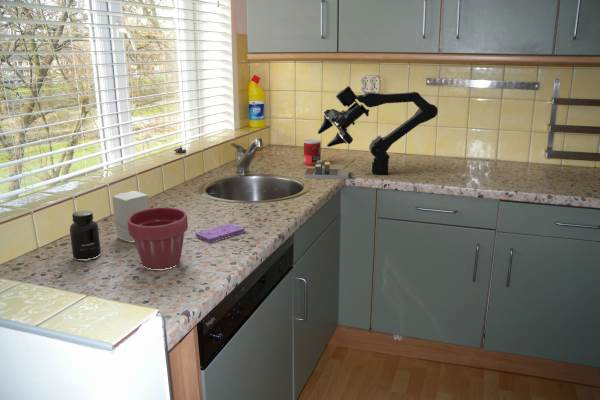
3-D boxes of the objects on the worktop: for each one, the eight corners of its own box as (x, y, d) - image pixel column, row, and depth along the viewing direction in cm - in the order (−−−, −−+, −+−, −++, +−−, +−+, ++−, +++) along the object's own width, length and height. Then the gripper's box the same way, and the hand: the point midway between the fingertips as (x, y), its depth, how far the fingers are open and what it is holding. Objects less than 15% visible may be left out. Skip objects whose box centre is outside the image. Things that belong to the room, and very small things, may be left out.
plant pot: (176, 278, 120) (172, 227, 116) (121, 273, 122) (115, 223, 119) (198, 254, 134) (195, 208, 130) (148, 251, 136) (144, 205, 132)
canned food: (314, 166, 230) (314, 142, 226) (300, 164, 234) (300, 141, 231) (323, 163, 235) (324, 140, 232) (310, 161, 240) (310, 138, 237)
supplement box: (153, 236, 146) (149, 194, 143) (129, 243, 141) (125, 200, 137) (139, 230, 151) (134, 189, 147) (116, 237, 146) (111, 195, 142)
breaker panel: (348, 172, 219) (349, 160, 217) (347, 179, 208) (348, 166, 207) (307, 171, 221) (307, 159, 220) (304, 177, 211) (304, 165, 209)
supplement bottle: (88, 263, 128) (82, 218, 125) (67, 259, 131) (60, 215, 127) (107, 253, 134) (102, 210, 131) (87, 250, 137) (81, 207, 133)
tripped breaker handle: (329, 170, 215) (330, 162, 214) (329, 171, 213) (329, 163, 212) (324, 170, 216) (325, 161, 215) (324, 171, 213) (324, 163, 212)
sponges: (195, 238, 146) (195, 232, 146) (230, 228, 155) (230, 222, 154) (209, 245, 141) (209, 238, 141) (244, 233, 150) (244, 227, 149)
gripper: (332, 92, 210) (303, 117, 214) (352, 117, 199) (322, 143, 202) (344, 106, 219) (317, 130, 222) (365, 131, 207) (335, 156, 210)
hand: (322, 139), depth 214 cm, fingers open, 9 cm apart
